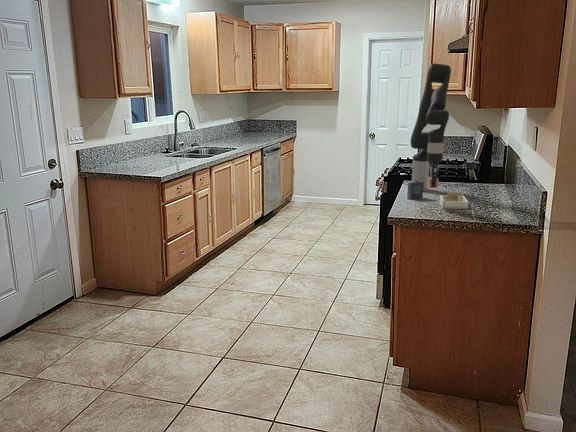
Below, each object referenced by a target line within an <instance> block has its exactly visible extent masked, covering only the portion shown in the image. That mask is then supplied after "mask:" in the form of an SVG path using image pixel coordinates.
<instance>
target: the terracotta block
mask: <svg viewBox="0 0 576 432" xmlns="http://www.w3.org/2000/svg"><path fill="white" fill-rule="evenodd" d="M439 183H440V182H439V177H438V176H437V180H436V187H431V177H430V176H428V188H429V189H430V188H431V189H439Z"/></svg>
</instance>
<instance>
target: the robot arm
mask: <svg viewBox="0 0 576 432" xmlns="http://www.w3.org/2000/svg"><path fill="white" fill-rule="evenodd" d="M451 69H452V68H451V66H450V65H448V64H443V63H435V62H434V63H433V62H432V63H431V64H430V65H429V66H428V70H427V74H426V80H425V85H424V89H423V90H424V91H423V94H422V96H421V97H422V98H421V101H420V105H419V108H418V114H417V118H416V122H415V124H414V128H413V130H412V133H411V137H410V147H411V148H412V149H417V150H421V149H422V150H421V151H420V152H418V153H416V154H414V155H413V156H412V170H411V171H412V172H411V182H414V179H415V178H416V179H417V181H422V182H424V183H423V192H426V191H428V177H431V187H436V180H437V177H438V175H439V168H440V166H439V164H438V163H442V162H443V160H444V140H445V139H444V136H445V131H446V127H447V125H448V122H449V119H450V113H449V111H448V110H446V109H445V108H446V103H447V102H446V101H447V93H448V89H449V84H450V79H451V74H452V70H451ZM433 83H436V84H437V83H438V84H441V85H439V86H438V87H437V88H436V89H435V90H434V88H433ZM427 125H430V126H432V125H433V126H439V127H438V128H435V129H431V130H429V131H423V130H424V129H425V128H426V127H427Z"/></svg>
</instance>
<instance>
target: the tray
mask: <svg viewBox="0 0 576 432" xmlns="http://www.w3.org/2000/svg"><path fill="white" fill-rule="evenodd" d="M447 197H448V194H446V195H443V194H442V195H439V204H440V206H441V208H442V209H451V210H453V209H454V210H468V209H469V201H468V199H467V198H466V197H465V195H458V201H447Z"/></svg>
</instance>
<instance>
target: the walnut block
mask: <svg viewBox="0 0 576 432" xmlns="http://www.w3.org/2000/svg"><path fill="white" fill-rule="evenodd" d="M447 196H448V197H447V201H458V196H459V193H458V192H449V191H448V192H447Z"/></svg>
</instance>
